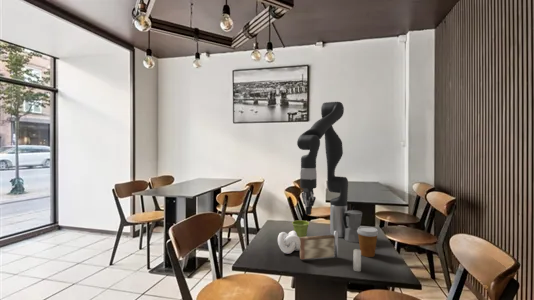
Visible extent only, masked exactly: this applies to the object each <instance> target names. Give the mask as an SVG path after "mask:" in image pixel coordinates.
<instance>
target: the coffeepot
mask: <svg viewBox="0 0 534 300" xmlns="http://www.w3.org/2000/svg"><path fill="white" fill-rule="evenodd" d="M351 208H352V209H349V210H348V209H347V211H345V213H344V215H343V220H344V225H345V228H346V233H345V237H344V240H345V241H346V242H348V243H359V237H358V232H357V230H358V228H359V227H361V223H362V219H363V218H362V217H363V212H362V211H361V210H356V206H352V207H351Z"/></svg>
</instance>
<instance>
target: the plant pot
mask: <svg viewBox="0 0 534 300" xmlns="http://www.w3.org/2000/svg"><path fill="white" fill-rule="evenodd" d="M291 224H292V226H293V231H295V232H296V233H297V236H298V237H299V238H300V237H308V236H307V234H308V228H309V225H310V222H309V221H307V220H293V221H292V222H291Z"/></svg>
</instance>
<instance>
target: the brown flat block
mask: <svg viewBox="0 0 534 300" xmlns="http://www.w3.org/2000/svg"><path fill="white" fill-rule="evenodd" d="M329 257H334V235H330V234H329V235H327V234H326V235H314V236H313V235H311V236H306V237H300V250H299V259H300V260H308V259H319V258H320V259H321V258H329Z"/></svg>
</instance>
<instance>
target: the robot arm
mask: <svg viewBox="0 0 534 300" xmlns="http://www.w3.org/2000/svg"><path fill="white" fill-rule="evenodd" d="M320 109H321V112H320V114H321V118H320V119H318V120H316V121H315V122H314V123H313V124H312V126H311V127H310V128H309V129H307V130H306V131H304V132H303V133H301V134H300V135H299V137H298V138H297V141H296V145H297V147H298V149H299V150H302V151H308V153H307V154H305V155H302V156H301V157H300V158H301V159H300V172H299V175H300V177H299V178H300V179H299V181H300V183H299V185H300V186H299V187H300V188H301V189H303V191H302V192H301V197H302V203H303V204H304V207H305V208H304V209H305V215H306V216H310V215H311V214H312V207H313V206H314V204H315V202H316V199H317V198H316V196H314V195H315V193H314V189H316V188H317V186H318V185H317V184H318V183H317V177H318V176H317V157H318V153H319V149H320V146H321V139H322V138H323V136H324V148H325V155H326V174H327V175H326V178H327V182H326V184H327V190H328V191H329V192H330V193H337V194H339V196H337V197H334V198H331V199H330V201H329V203H330V204H329V205H330V207H329V208H330V209H329V211H330V215H329V220H330V221H329V229H330V230H329V233H330V234H329V235H334V231H338V238H345V233H346V228H345V225H344V220H343V215H344V213H345V211H348V196H349V195H348V194H349V180H348V178H347V177H346V176H339V175H337V176H335V175H336V173H335V172H336V171H335V170H336V168H337V166H338V164H339V163H340V160H341V159H342V157H343V154H344V152H343V151H344V149H343V141H342V139H341V138H340V136H339V134H338V133H337V132H336V130H335V129H334V128H333V127H334V126H333V125H334V124H335V123H336V122H338V121H339V120H340V119H341V118H342V117H343V115H344V110H345V108H344V105H343V103H342V102H340V101H329V102H323V103H322V105H321V107H320Z"/></svg>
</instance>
